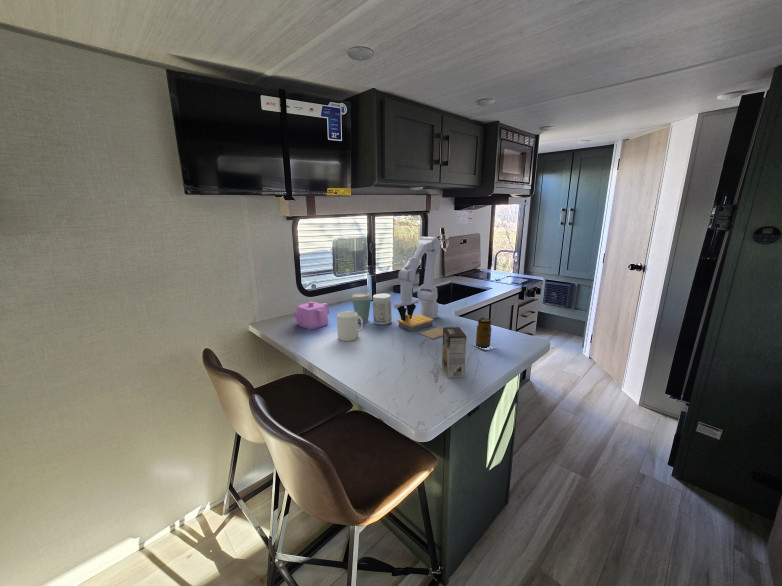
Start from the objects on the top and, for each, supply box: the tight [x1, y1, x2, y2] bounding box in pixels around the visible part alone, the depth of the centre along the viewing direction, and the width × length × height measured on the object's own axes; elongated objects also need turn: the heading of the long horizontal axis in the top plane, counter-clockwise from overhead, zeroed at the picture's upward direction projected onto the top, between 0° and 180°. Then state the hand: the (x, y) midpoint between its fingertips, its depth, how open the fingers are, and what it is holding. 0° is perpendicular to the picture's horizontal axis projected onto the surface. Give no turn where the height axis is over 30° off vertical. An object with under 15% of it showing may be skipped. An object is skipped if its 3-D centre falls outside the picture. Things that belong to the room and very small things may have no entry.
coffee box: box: [441, 326, 467, 379], centre depth 120 cm, size 9×6×16 cm
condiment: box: [471, 317, 492, 352], centre depth 143 cm, size 7×8×12 cm
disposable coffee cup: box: [351, 292, 372, 324], centre depth 176 cm, size 11×11×15 cm
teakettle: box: [291, 300, 330, 330], centre depth 172 cm, size 17×17×12 cm
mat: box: [419, 326, 444, 340], centre depth 160 cm, size 14×9×1 cm, turn 128°
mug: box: [336, 310, 364, 342], centre depth 154 cm, size 10×12×12 cm
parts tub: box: [398, 321, 433, 333], centre depth 170 cm, size 14×10×3 cm
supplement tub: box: [372, 293, 393, 326], centre depth 174 cm, size 10×10×15 cm
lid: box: [396, 313, 435, 327], centre depth 169 cm, size 15×11×6 cm
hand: (406, 319), depth 165 cm, fingers open, 4 cm apart
